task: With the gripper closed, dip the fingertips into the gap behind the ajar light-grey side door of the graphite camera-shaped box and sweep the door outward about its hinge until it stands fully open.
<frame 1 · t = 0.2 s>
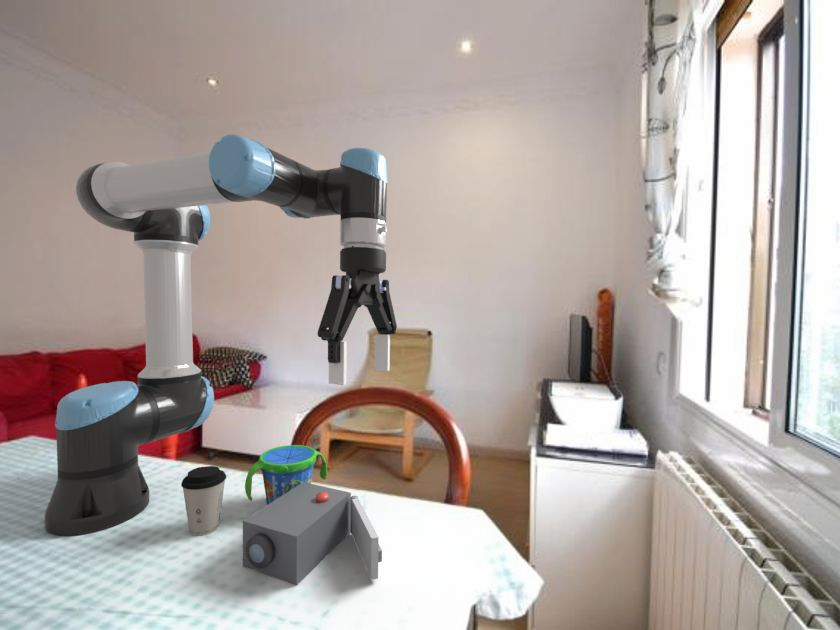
hand: (361, 376, 67), 27 cm above the table, fingers open, 13 cm apart
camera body: (300, 548, 64), on the table
coffee cup: (204, 529, 70), on the table
door: (364, 533, 63), point 4 cm above the table, hinge at 45.0°
snack cup: (288, 506, 78), on the table
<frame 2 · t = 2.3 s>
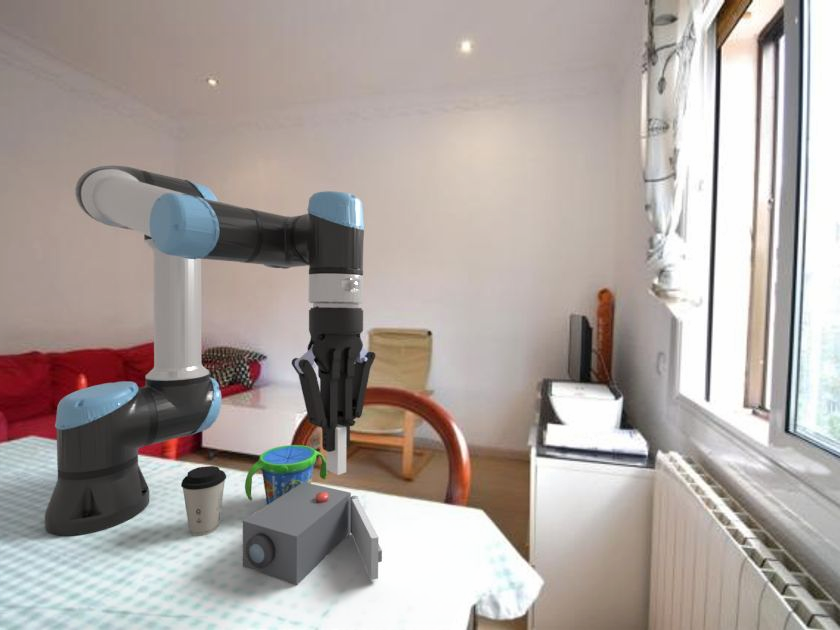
hand: (336, 470, 57), 16 cm above the table, fingers closed
nothing on the table moved.
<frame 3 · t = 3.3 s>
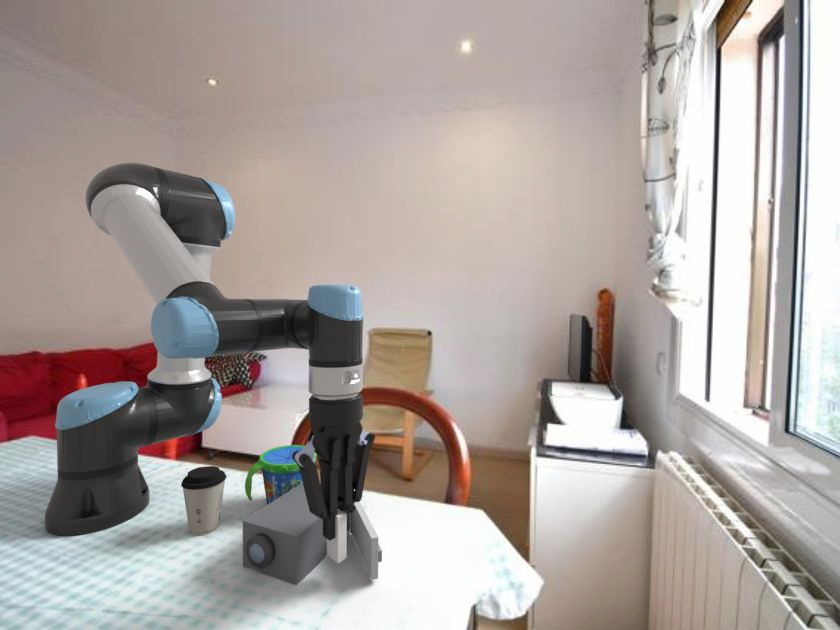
hand: (336, 556, 58), 3 cm above the table, fingers closed
nothing on the table moved.
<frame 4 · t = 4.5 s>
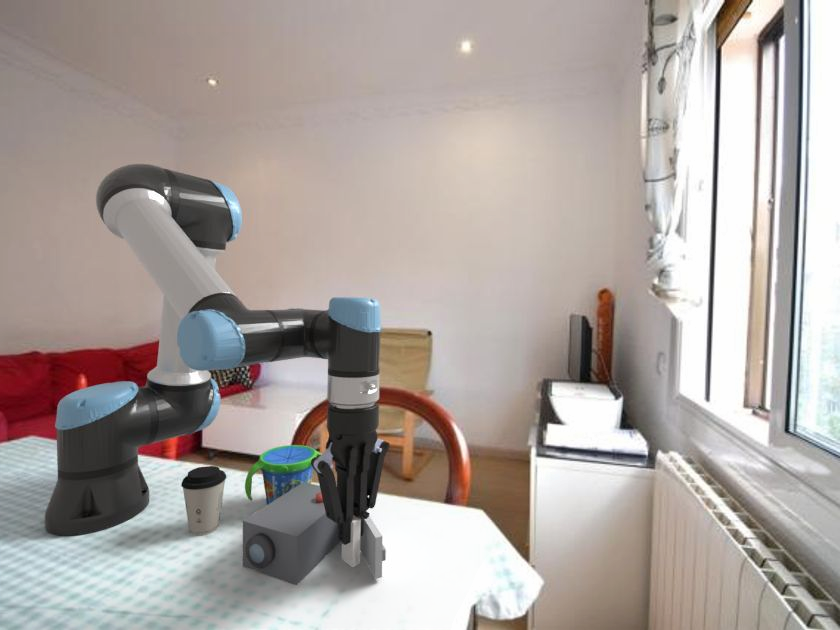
hand: (350, 560, 59), 2 cm above the table, fingers closed
door: (366, 532, 63), point 4 cm above the table, hinge at 47.8°, touching gripper
everything else where it was.
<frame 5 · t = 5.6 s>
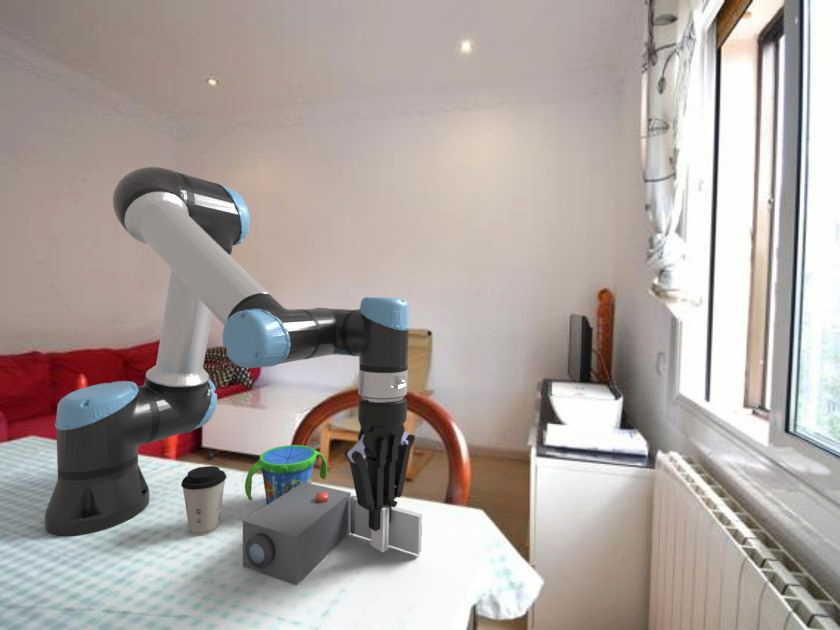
hand: (379, 546, 62), 2 cm above the table, fingers closed
door: (384, 522, 66), point 4 cm above the table, hinge at 86.4°, touching gripper
everything else where it was.
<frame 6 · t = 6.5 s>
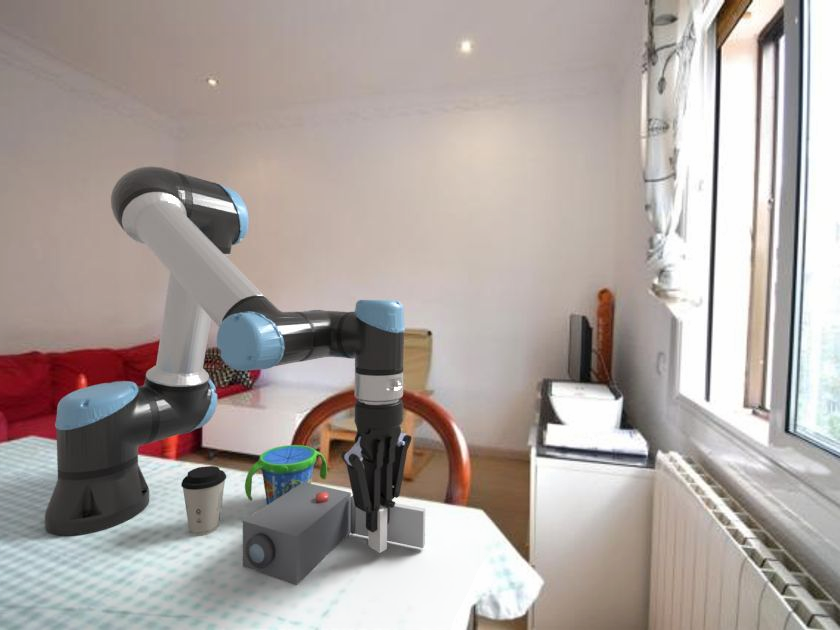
hand: (377, 547, 63), 1 cm above the table, fingers closed
door: (387, 520, 67), point 4 cm above the table, hinge at 94.5°
everything else where it was.
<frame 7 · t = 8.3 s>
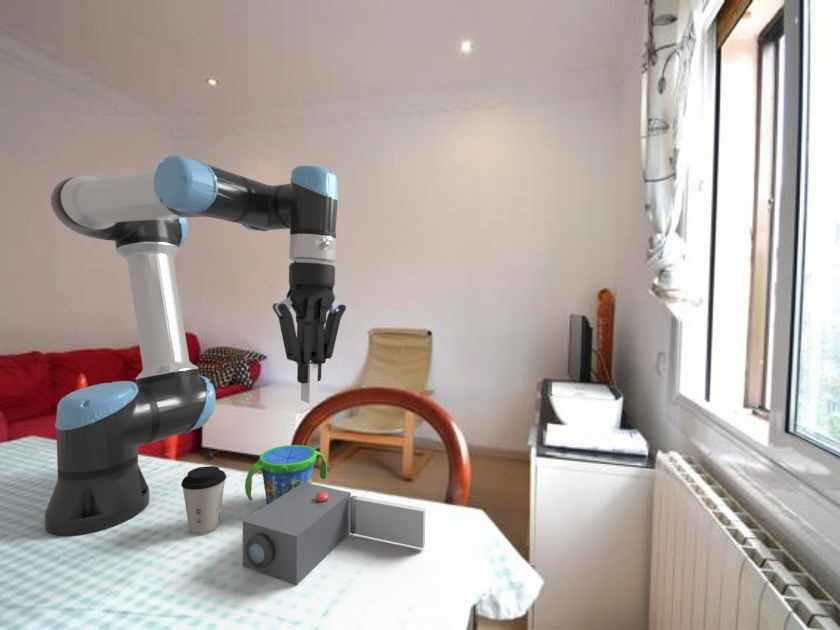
hand: (308, 400, 69), 23 cm above the table, fingers closed
nothing on the table moved.
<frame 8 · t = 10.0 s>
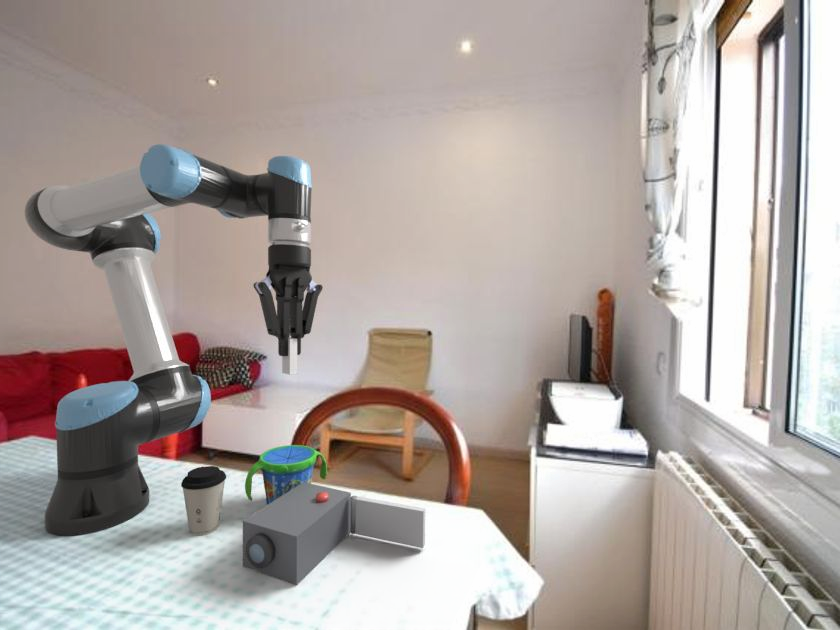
hand: (289, 373, 74), 26 cm above the table, fingers closed
nothing on the table moved.
at the end: door at +95° (first picture: +45°) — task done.
